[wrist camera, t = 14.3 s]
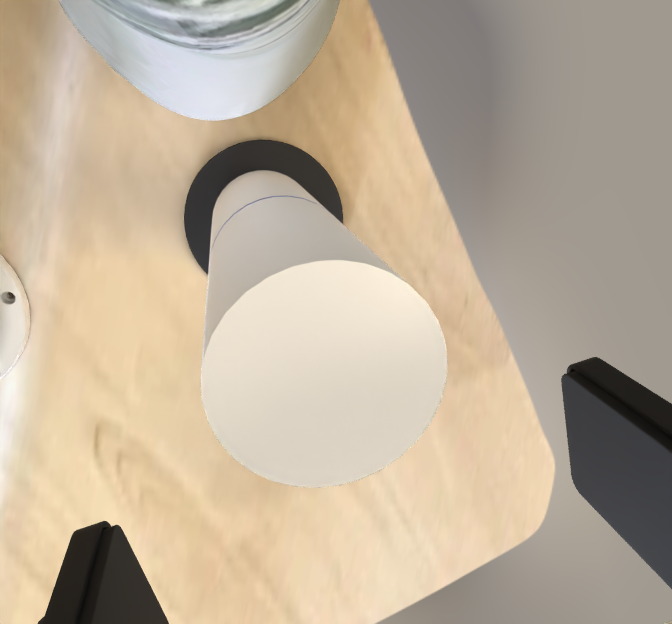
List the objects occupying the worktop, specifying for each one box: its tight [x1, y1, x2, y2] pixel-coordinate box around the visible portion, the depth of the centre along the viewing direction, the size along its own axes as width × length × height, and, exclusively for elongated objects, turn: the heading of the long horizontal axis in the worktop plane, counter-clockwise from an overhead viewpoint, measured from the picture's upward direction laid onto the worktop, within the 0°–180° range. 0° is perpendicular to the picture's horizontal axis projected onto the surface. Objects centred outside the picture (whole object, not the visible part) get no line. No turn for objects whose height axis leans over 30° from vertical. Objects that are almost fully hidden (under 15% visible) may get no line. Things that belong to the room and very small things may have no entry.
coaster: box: [184, 140, 343, 274], centre depth 39 cm, size 11×11×1 cm
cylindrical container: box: [200, 170, 448, 488], centre depth 28 cm, size 7×7×25 cm
